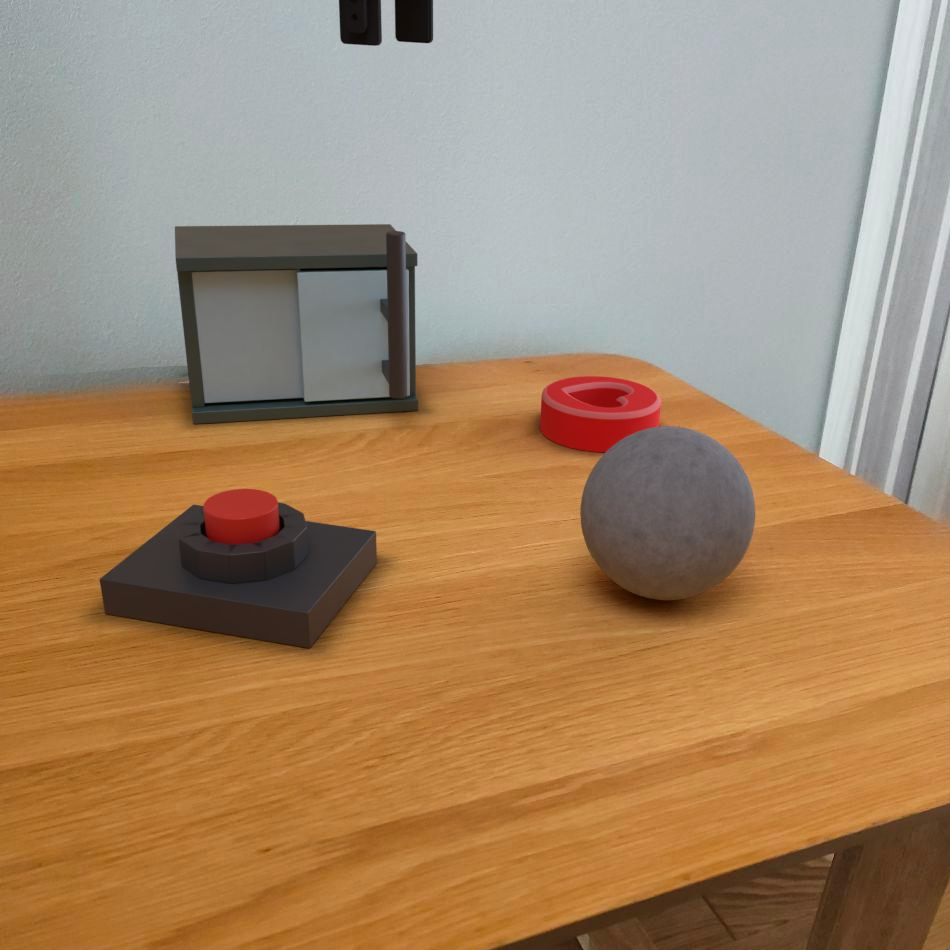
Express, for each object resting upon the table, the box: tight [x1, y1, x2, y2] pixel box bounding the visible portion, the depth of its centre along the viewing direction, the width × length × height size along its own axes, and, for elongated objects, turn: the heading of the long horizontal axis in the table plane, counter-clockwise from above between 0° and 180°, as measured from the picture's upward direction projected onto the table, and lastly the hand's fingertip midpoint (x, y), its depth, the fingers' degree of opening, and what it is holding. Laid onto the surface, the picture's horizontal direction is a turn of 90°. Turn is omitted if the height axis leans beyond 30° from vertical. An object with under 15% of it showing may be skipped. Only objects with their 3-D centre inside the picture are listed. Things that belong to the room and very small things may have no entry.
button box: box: [99, 501, 378, 649], centre depth 60 cm, size 12×10×4 cm
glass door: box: [297, 230, 410, 402], centre depth 81 cm, size 9×6×14 cm
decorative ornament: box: [539, 375, 662, 453], centre depth 86 cm, size 10×10×3 cm
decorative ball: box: [579, 425, 756, 601], centre depth 61 cm, size 10×10×10 cm
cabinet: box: [174, 223, 419, 425], centre depth 88 cm, size 18×12×13 cm, turn 107°
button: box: [202, 488, 280, 545], centre depth 59 cm, size 4×4×2 cm
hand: (389, 43), depth 84 cm, fingers open, 9 cm apart
